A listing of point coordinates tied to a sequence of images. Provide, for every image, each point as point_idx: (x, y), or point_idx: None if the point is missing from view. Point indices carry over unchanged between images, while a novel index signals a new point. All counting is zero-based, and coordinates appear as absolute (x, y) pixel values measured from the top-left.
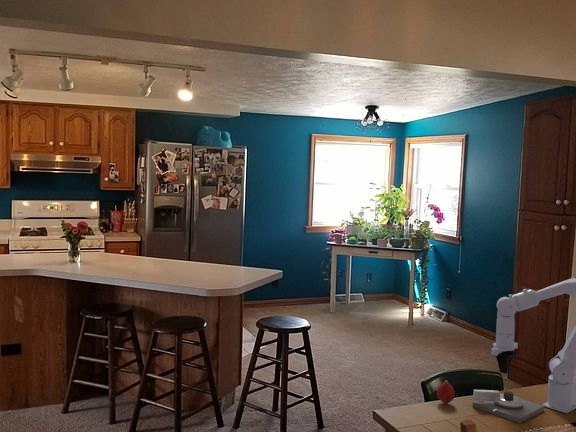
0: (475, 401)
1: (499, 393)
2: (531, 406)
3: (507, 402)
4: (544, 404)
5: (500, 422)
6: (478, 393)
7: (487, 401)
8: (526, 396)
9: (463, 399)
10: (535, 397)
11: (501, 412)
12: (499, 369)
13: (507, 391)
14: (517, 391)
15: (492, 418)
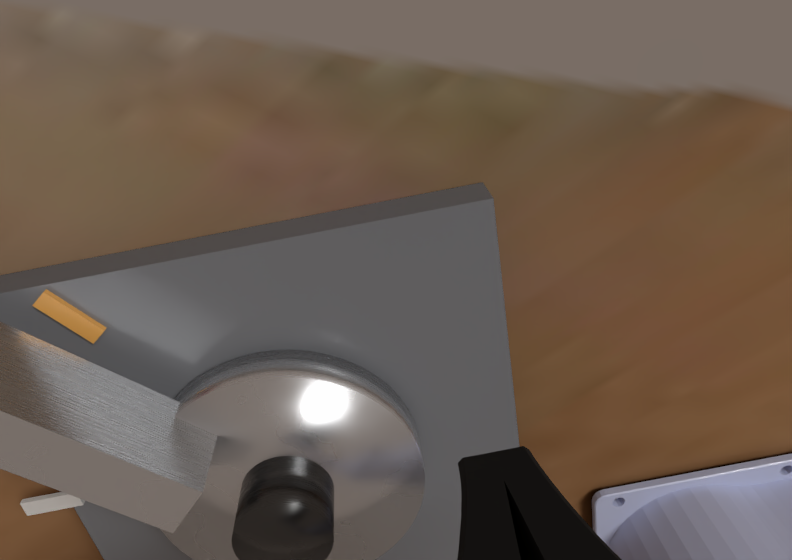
0: (5, 296)
1: (170, 521)
2: (432, 542)
3: (206, 535)
4: (620, 495)
5: (19, 557)
6: None
7: (142, 345)
8: (713, 311)
9: (13, 77)
10: (751, 357)
11: (91, 532)
12: (465, 483)
13: (309, 513)
14: (787, 187)
15: (5, 498)
